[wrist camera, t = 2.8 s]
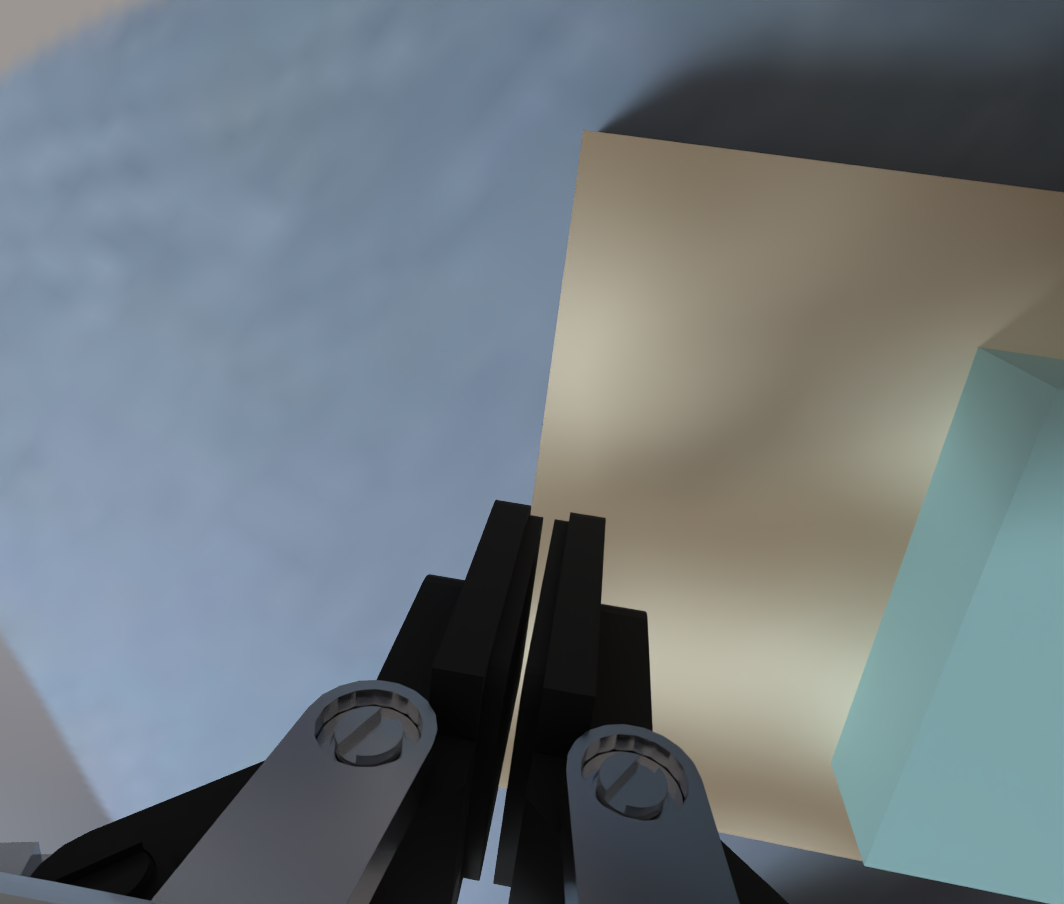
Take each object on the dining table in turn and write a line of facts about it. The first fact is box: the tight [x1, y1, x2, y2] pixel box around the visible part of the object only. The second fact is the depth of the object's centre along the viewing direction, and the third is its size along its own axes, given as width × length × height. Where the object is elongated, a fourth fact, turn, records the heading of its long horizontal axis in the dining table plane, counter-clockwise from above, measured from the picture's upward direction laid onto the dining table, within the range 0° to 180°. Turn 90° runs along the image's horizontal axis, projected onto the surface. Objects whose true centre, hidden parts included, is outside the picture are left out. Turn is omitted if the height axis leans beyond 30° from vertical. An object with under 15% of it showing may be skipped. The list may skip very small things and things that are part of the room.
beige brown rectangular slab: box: [499, 130, 1064, 861], centre depth 15 cm, size 14×18×2 cm
